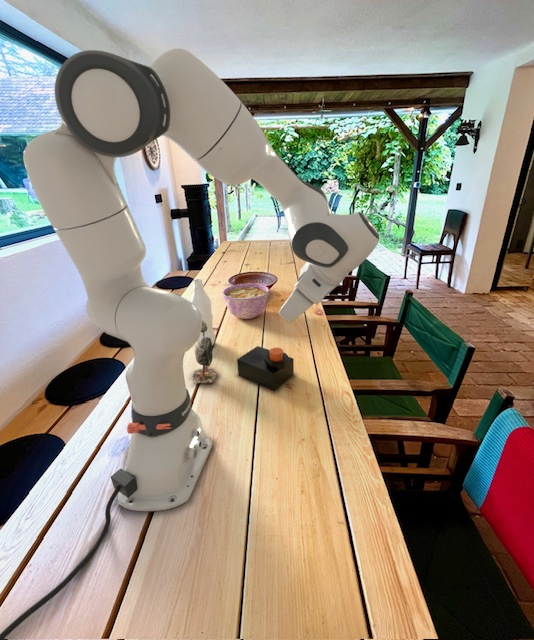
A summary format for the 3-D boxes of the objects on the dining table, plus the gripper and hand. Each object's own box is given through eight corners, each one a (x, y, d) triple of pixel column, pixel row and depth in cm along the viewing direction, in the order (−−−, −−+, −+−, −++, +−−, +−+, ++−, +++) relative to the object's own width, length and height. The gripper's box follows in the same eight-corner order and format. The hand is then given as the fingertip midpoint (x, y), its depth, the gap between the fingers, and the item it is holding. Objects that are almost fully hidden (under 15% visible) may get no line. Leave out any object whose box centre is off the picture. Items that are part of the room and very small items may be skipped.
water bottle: (212, 350, 115) (203, 283, 105) (193, 349, 116) (183, 283, 106) (218, 341, 121) (211, 277, 111) (200, 339, 123) (192, 276, 112)
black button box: (295, 375, 99) (295, 353, 95) (276, 392, 92) (275, 368, 88) (258, 361, 107) (257, 340, 104) (238, 375, 100) (236, 353, 97)
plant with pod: (222, 366, 105) (216, 310, 97) (212, 387, 95) (204, 326, 87) (198, 365, 106) (190, 309, 98) (186, 385, 96) (175, 325, 88)
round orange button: (286, 357, 94) (285, 349, 93) (278, 363, 91) (277, 355, 90) (275, 353, 97) (274, 346, 95) (266, 359, 94) (266, 351, 93)
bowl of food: (218, 323, 136) (215, 297, 131) (233, 305, 154) (231, 282, 149) (263, 326, 131) (262, 300, 126) (274, 308, 149) (273, 284, 144)
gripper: (320, 252, 82) (288, 287, 91) (296, 284, 66) (260, 322, 74) (338, 269, 83) (305, 301, 91) (319, 304, 66) (280, 340, 75)
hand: (284, 311), depth 83 cm, fingers closed
